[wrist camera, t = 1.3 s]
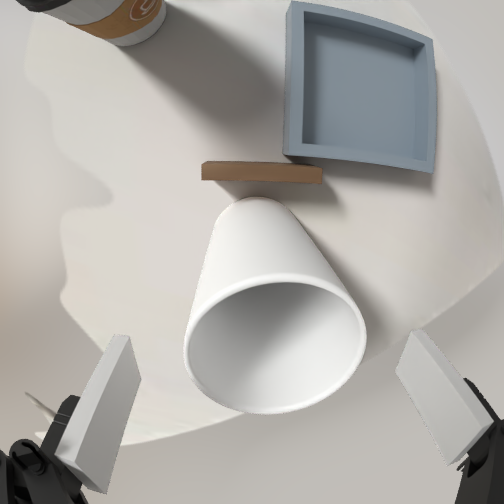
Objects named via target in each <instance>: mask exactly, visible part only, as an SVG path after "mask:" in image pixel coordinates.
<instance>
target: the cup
mask: <svg viewBox="0 0 504 504" xmlns="http://www.w3.org/2000/svg"><path fill="white" fill-rule="evenodd" d="M366 341H367V333H366V326H365V322H364V319H363V317H362V314H361V312H360V310H359V308H358V306H357V305H356V303H355V301H354V300H353V298H352V297H351V295H350V294H349V292H348V291H347V289H346V288H345V286H344V285H343V284H342V282H341V281H340V279H339V278H338V276H337V275H336V273H335V272H334V270H333V269H332V268H331V266H330V265H329V263H328V262H327V261H326V259H325V258H324V256H323V255H322V253H321V252H320V251H319V249H318V248H317V247H316V245H315V244H314V242H313V241H312V240H311V238H310V237H309V236H308V234H307V233H306V231H305V230H304V229H303V227H302V226H301V225H300V223H299V222H298V221H297V219H296V218H295V217H294V215H293V214H292V213H291V212H290V210H289V209H288V208H287V207H285V206H284V205H283V204H281V203H279V202H278V201H275V200H273V199H270V198H266V197H248V198H244V199H241V200H239V201H236V202H235V203H233V204H231V205H230V206H228V207H227V208H226V209H225V210H224V211H223V212H222V213H221V215H220V216H219V218H218V219H217V221H216V223H215V226H214V229H213V232H212V236H211V239H210V243H209V246H208V250H207V253H206V257H205V260H204V264H203V268H202V271H201V275H200V279H199V282H198V286H197V290H196V294H195V297H194V301H193V305H192V309H191V313H190V317H189V321H188V325H187V329H186V333H185V339H184V362H185V366H186V369H187V372H188V374H189V376H190V378H191V379H192V381H193V382H194V384H195V385H196V386H197V387H198V388H199V389H200V390H201V391H202V392H203V393H204V394H205V395H206V396H208V397H209V398H210V399H212V400H214V401H215V402H217V403H219V404H221V405H223V406H225V407H228V408H230V409H233V410H237V411H241V412H245V413H252V414H280V413H287V412H292V411H296V410H300V409H303V408H306V407H309V406H311V405H314V404H316V403H318V402H320V401H322V400H323V399H325V398H327V397H329V396H330V395H332V394H333V393H334V392H336V391H337V390H338V389H340V387H342V386H343V385H344V384H345V383H346V382H347V381H348V380H349V378H351V376H352V375H353V374H354V372H355V371H356V369H357V368H358V366H359V364H360V362H361V360H362V358H363V355H364V352H365V348H366Z"/></svg>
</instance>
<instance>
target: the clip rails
mask: <svg viewBox="0 0 504 504" xmlns="http://www.w3.org/2000/svg"><path fill="white" fill-rule="evenodd" d="M322 170H323V168H319V167H316V166H313V165H308V164H293V163H274V162H242V161H207V162H205V163H203V164H202V180H243V181H277V182H298V183H315V184H322Z"/></svg>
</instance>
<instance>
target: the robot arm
mask: <svg viewBox="0 0 504 504" xmlns="http://www.w3.org/2000/svg"><path fill="white" fill-rule="evenodd" d="M395 372H396V374H397V376H398V378H399V379H400V381H401V383H402V384H403V386H404V387H405V389H406V391H407V393H408V395H409V396H410V398H411V400H412V401H413V403H414V405H415V407H416V409H417V410H418V412H419V414H420V416H421V418H422V419H423V421H424V423H425V424H426V427H427V428H428V430H429V432H430V434H431V436H432V438H433V440H434V442H435V443H436V445H437V447H438V449H439V451H440V453H441V455H442V457H443V459H444V461H445V463H446V465H447V466H449V465H451V464H453V463H454V462H457V461H459V460H460V459H461V458H462V457H463V456H464V455H465V454H466V453H468V455H469V457H468V458H466V460H465V461H463V462H462V463H461V464H460V466H458V468H457V471H459V470H460V469H461V468H462V467H463V466H464V465H465V466H464V468H463V469H462V470H461V471H462V472H463V475H462V479H461V483H460V487H459V490H458V494H457V497H456V501H455V504H504V419H503V420H500V418H499V417H498V416H497V415H496V413H495V412H494V410H493V409H492V408H491V406H490V405H489V403H488V402H487V401H486V399H484V398H483V395H482V394H481V393H479V390H478V389H477V387H476V386H475V385H474V384H473V383H472V382H471V381H469V380H468V379H467V378H462V377H461V375H460V374H459V373H458V372H457V370H456V369H455V368H454V367H453V365H452V364H451V363H450V361H449V360H448V359H447V358H446V356H445V355H444V354H443V353H442V352H441V350H440V349H439V348H438V347H437V346H436V344H435V343H434V342H433V341H432V340H431V338H430V337H429V336H428V335H427V334H426V333H425V331H424V330H423V329H419V330H412V331H411V332H410V335H409V338H408V340H407V343H406V346H405V348H404V351H403V353H402V356H401V358H400V361H399V363H398V365H397V368H396V370H395ZM140 382H141V376H140V373H139V370H138V366H137V362H136V359H135V355H134V351H133V348H132V344H131V340H130V336H125V335H116V334H114V336H113V338H112V339H111V341H110V343H109V345H108V347H107V348H106V350H105V352H104V354H103V356H102V358H101V359H100V361H99V363H98V365H97V367H96V369H95V371H94V372H93V374H92V376H91V378H90V380H89V382H88V384H87V386H86V388H85V390H84V392H83V394H82V396H81V397H78V396H74V395H70V396H69V397H68V398H67V399H66V400H65V401H64V402H62V404H61V406H60V408H59V410H58V412H57V414H56V416H55V418H54V422H52V424H51V426H50V428H49V430H48V432H47V434H46V436H45V438H44V440H43V442H42V445H41V447H40V448H39V447H38V445H36V444H35V443H34V442H33V441H31V440H28V439H21V440H18V441H16V442H15V443H14V444H13V445H12V446H11V448H10V451H9V456H7V455H5V453H4V452H3V451H1V450H0V504H88V502H87V500H86V498H85V496H84V494H83V492H82V491H81V490H80V489H81V486H82V484H84V485H85V486H86V487H87V488H88V489H90V490H93V491H96V492H100V493H103V494H107V490H108V486H109V482H110V479H111V475H112V471H113V468H114V464H115V461H116V457H117V454H118V450H119V447H120V443H121V440H122V437H123V434H124V430H125V427H126V424H127V421H128V418H129V415H130V412H131V408H132V405H133V402H134V399H135V396H136V393H137V391H138V388H139V385H140Z"/></svg>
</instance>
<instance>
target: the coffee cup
mask: <svg viewBox="0 0 504 504" xmlns="http://www.w3.org/2000/svg"><path fill="white" fill-rule="evenodd" d="M16 1H17V2H19V3H20V4H21V5H23V6H25V7H26V8H27V9H28V10H29V11H33V12H43V13H46V14H48V15H51V16H53V17H56V18H58V19H60V20H63V21H65V22H66V23H67V24H69V25H72V26H74V27H76V28H79V29H81V30H83V31H85V32H87V33H89V34H92V35H94V36H96V37H99V38H102V39H104V40H106V41H108V42H110V43H112V44H114V45H117V46H130V45H135V44H138V43H140V42H143V41H145V40H146V39H148V38H150V37H151V36H152V35H153V34H154V33H156V32H157V30H158V29H159V28H160V26H161V25H162V23H163V21H164V19H165V17H166V11H167V9H166V4H165V1H164V0H16Z"/></svg>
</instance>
